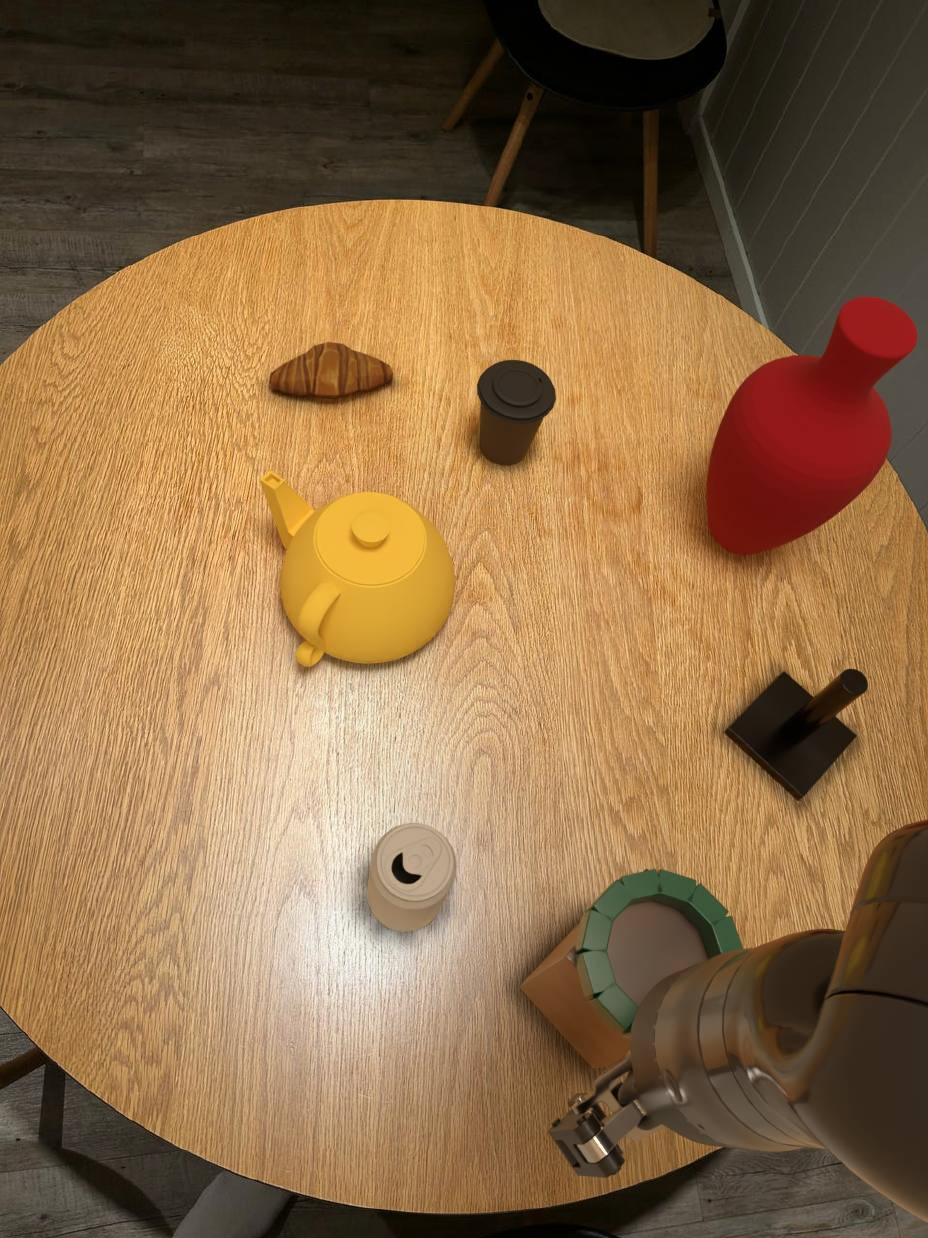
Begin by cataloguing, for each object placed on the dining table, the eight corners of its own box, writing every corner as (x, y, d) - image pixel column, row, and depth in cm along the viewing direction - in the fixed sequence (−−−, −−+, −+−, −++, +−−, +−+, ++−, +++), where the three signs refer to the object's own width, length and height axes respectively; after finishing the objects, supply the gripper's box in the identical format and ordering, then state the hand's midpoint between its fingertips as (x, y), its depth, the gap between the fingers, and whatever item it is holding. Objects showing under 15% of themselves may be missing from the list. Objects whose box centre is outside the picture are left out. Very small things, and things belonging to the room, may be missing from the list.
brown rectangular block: (659, 991, 78) (741, 962, 62) (592, 1069, 74) (661, 1059, 59) (586, 915, 80) (647, 867, 64) (518, 987, 77) (564, 956, 61)
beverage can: (351, 889, 79) (353, 856, 68) (409, 840, 81) (420, 800, 71) (400, 950, 77) (409, 925, 66) (458, 898, 79) (476, 866, 69)
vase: (773, 465, 105) (918, 250, 79) (826, 578, 99) (1003, 385, 72) (652, 482, 102) (761, 265, 76) (699, 600, 96) (835, 408, 69)
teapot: (483, 581, 94) (502, 509, 83) (372, 724, 86) (377, 667, 74) (322, 480, 97) (319, 398, 86) (201, 608, 89) (180, 537, 78)
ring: (761, 963, 62) (776, 958, 60) (662, 1084, 58) (674, 1083, 56) (646, 846, 65) (656, 838, 63) (543, 954, 61) (550, 949, 59)
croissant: (387, 357, 106) (389, 324, 102) (397, 404, 103) (399, 372, 99) (266, 365, 103) (263, 332, 99) (272, 413, 100) (269, 381, 96)
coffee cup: (555, 448, 103) (575, 386, 94) (505, 489, 99) (521, 429, 91) (501, 404, 105) (515, 340, 96) (450, 443, 101) (461, 380, 93)
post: (851, 740, 91) (926, 686, 79) (797, 800, 87) (868, 753, 75) (778, 675, 93) (841, 614, 81) (724, 732, 89) (781, 676, 78)
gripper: (682, 1255, 36) (587, 1214, 50) (913, 1018, 41) (767, 1042, 56) (560, 1081, 38) (502, 1089, 53) (793, 877, 44) (682, 934, 58)
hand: (638, 1064), depth 54 cm, fingers open, 8 cm apart
